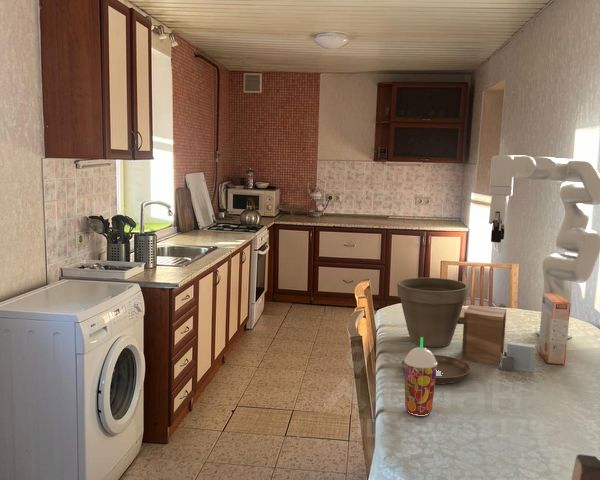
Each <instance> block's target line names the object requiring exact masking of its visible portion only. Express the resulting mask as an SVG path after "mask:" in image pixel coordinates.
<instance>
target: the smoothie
mask: <svg viewBox="0 0 600 480" xmlns="http://www.w3.org/2000/svg"><path fill="white" fill-rule="evenodd" d="M434 355H435V354H433V352H432V351H431V350H430V349H428V348H427V347H425V346H423V337H421V340H420V345H419V346H417V347H414V348H413V349H411V350H409V352H408V353H407V355H406V357H405V358H404V359H403V360H404V362H405V364H404V368H405V370H404V407H405V409H406V411H407V410H408V411H409V412H410V413H413V414H418V415H425V414H428V413H429V412H431V411H432V410H433V403H434V402H433V401H434V394H435V386H436V384H435V379H436V370H437V363H438V362H437V361H436V359H435V356H434ZM404 368H403V369H404Z"/></svg>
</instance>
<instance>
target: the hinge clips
mask: <svg viewBox="0 0 600 480" xmlns="http://www.w3.org/2000/svg"><path fill="white" fill-rule="evenodd" d="M498 370H501V371H506V372H507V371H508V372H514V371H515V369H514V358H512V357H507V350H504V352H503V357H502V359H501V362H500V365H498Z"/></svg>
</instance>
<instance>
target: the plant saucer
mask: <svg viewBox="0 0 600 480" xmlns="http://www.w3.org/2000/svg"><path fill="white" fill-rule="evenodd" d="M433 355H434V356H435V359H436V361H437V362H438V363H437V371H438V370H439V371H441V375H442V376H436V379H435V383H451V384H455V383H457V382H459V381H460V382H461V381H462V380H463V379H465V378H466V376H468V374H469V373H470V372H471V366H470V365H469V364H468V363H467V362H465V361H464V360H462V359H458V358H456V357H452V356H449V355H448V356H447V355H442V354H441V355H440V354H433ZM400 364H401V366H402V369H403V370H404V371H405V368H404V364H405V362H404V359H403V360H401V363H400ZM442 373H443V374H442ZM454 382H455V383H454Z"/></svg>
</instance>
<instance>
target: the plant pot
mask: <svg viewBox="0 0 600 480" xmlns="http://www.w3.org/2000/svg"><path fill="white" fill-rule="evenodd" d="M396 285H397V287H396V288H397V296H398V298H399V299H400V303H401V308H402V311H403V312H402V313H403V316H404V320H405V323H406V327H407V328H406V329H407V331H408V332H407V333H408V335H409V340H410V341H411V342H412V343H414V344H415V345H418V346H420V340H421V337H423V347H428V348H429V347H430V348H432V347H433V348H441V347H446V346H449V345H450V344H451V343H452V340H453V337H454V336H455V332H456V329H457V325H458V323H457V322H458V319H459V316H460V313H461V310H462V308H463V306H464V303H465V302H466V300H467V299H468V293H469V285H468V284H467V283H465V282H463V281H460V280H455V279H449V278H443V277H442V278H441V277H410V278H403V279H401V280H399V281H398V282H397V283H396Z"/></svg>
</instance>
